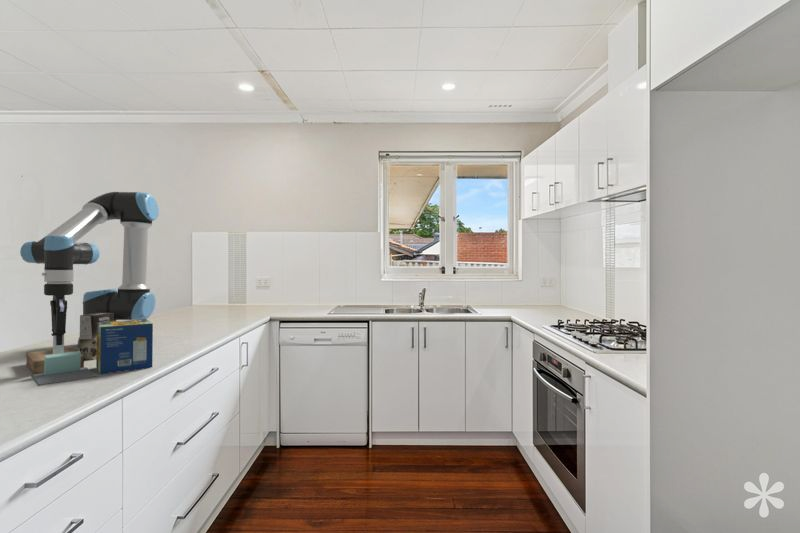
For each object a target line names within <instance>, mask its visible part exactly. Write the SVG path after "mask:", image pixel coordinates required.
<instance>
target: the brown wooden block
mask: <svg viewBox="0 0 800 533" xmlns="http://www.w3.org/2000/svg"><path fill="white" fill-rule="evenodd" d="M77 351H78V350H77V349H76V348H74V347H67V348H65V347H64V353H68V352H77ZM51 354H53V349H49V350H41V351H31V352H30V351H29V352H25V356H26V357H25V359H26V362H25V365H26V366H27V367H28V369H29V370H30V372H31V373H32V375H34V374H41V373H44V365H45V355H51ZM83 367H85V359H84V356H83V355H82V354H81V364H80V368H83Z"/></svg>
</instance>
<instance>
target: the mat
mask: <svg viewBox="0 0 800 533" xmlns="http://www.w3.org/2000/svg"><path fill="white" fill-rule="evenodd" d="M31 376H32V378H33V379H34V381H35V382H36V383H37V385H38V386H43V385H44V386H45V385H50V384H51V383H52V384H57V383H58V384H59V383H64V381H65V382H71V381H76V379H77V380H84V379H88V378H89V379H90V378H95V376H96V377H97V375H96V374H95V373H93V372H92V371H91V369H89V368H88V367H85V366H84V367H83V368H80V370H79V371H72V372H65V373H57V374H50V375H45V373H41V374H31ZM83 378H84V379H83ZM70 380H71V381H70ZM52 384H51V385H52Z"/></svg>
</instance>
